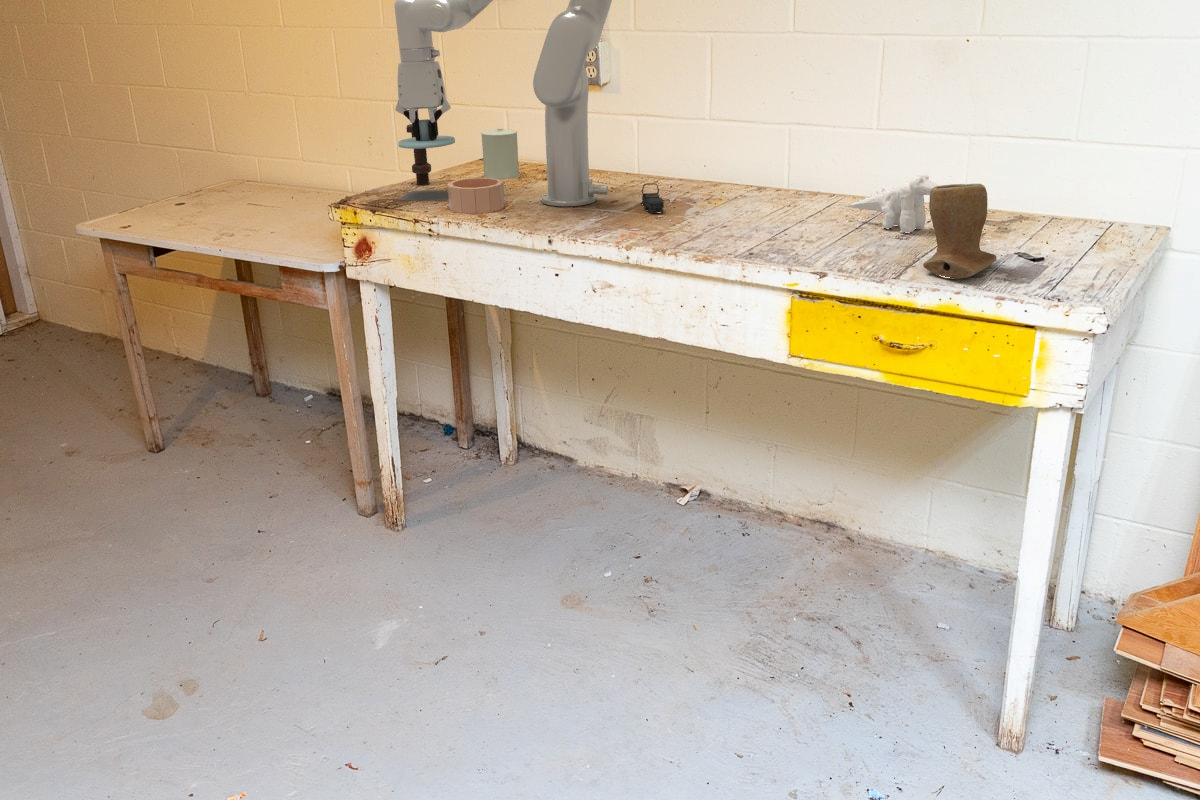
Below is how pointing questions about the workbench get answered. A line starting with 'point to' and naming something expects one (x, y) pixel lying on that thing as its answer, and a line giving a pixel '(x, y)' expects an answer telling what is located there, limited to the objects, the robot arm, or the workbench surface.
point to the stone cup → (958, 230)
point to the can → (500, 154)
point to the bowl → (476, 195)
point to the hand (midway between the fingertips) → (426, 138)
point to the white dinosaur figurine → (901, 204)
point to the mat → (426, 196)
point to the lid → (425, 139)
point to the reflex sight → (652, 201)
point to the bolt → (420, 163)
